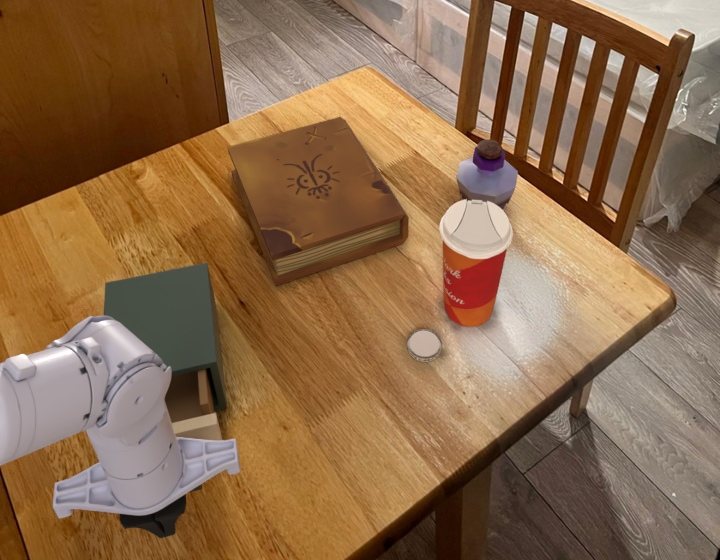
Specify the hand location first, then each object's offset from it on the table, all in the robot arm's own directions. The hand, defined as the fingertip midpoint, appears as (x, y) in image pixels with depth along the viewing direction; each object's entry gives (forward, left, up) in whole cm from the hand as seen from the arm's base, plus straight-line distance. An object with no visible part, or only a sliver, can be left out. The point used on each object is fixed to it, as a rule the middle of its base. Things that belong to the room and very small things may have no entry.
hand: (167, 524), depth 64 cm
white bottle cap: (+29, +15, -6) cm, 33 cm away
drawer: (0, +12, -5) cm, 13 cm away
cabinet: (0, +20, -6) cm, 21 cm away
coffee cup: (+36, +19, -6) cm, 41 cm away
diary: (+21, +41, -6) cm, 47 cm away
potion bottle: (+44, +34, -6) cm, 56 cm away
